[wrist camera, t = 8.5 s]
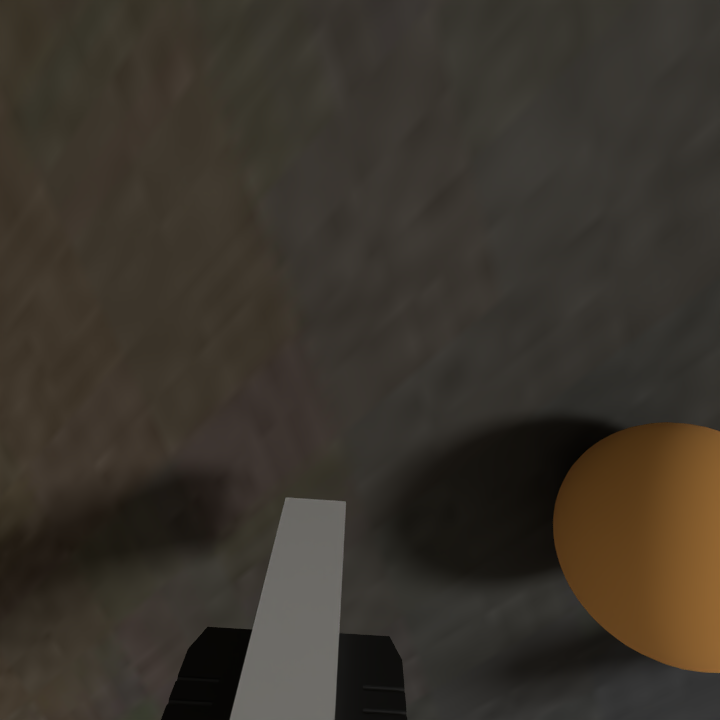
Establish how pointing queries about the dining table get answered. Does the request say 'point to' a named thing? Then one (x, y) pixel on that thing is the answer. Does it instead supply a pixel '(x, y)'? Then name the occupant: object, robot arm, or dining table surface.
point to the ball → (647, 540)
